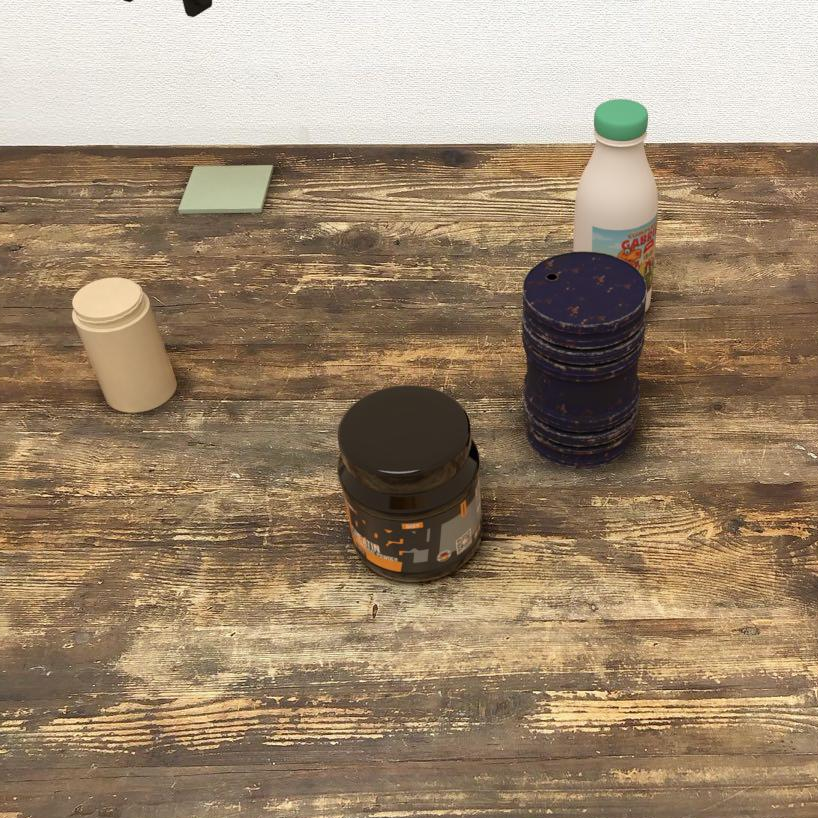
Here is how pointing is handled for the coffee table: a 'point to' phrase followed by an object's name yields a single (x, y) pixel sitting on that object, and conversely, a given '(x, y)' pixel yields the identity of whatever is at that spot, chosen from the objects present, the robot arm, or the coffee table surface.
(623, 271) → the storage jar
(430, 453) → the supplement container
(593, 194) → the milk bottle
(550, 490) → the coffee table surface
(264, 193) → the tile
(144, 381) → the beige jar
